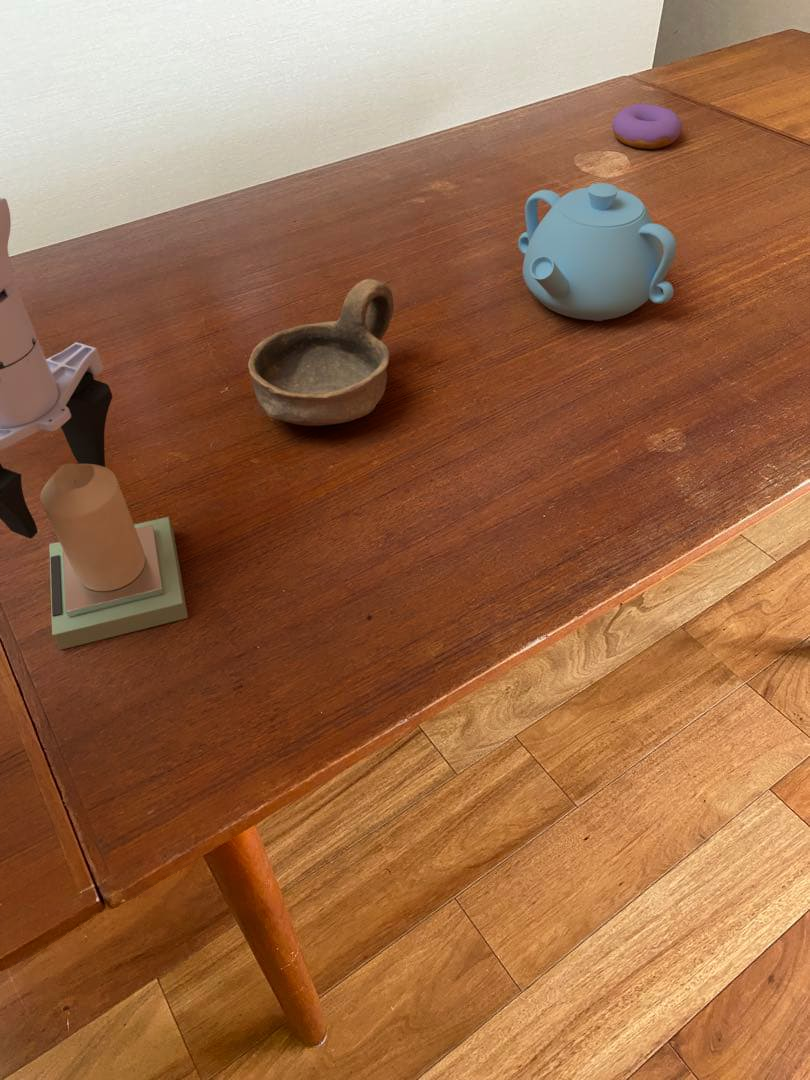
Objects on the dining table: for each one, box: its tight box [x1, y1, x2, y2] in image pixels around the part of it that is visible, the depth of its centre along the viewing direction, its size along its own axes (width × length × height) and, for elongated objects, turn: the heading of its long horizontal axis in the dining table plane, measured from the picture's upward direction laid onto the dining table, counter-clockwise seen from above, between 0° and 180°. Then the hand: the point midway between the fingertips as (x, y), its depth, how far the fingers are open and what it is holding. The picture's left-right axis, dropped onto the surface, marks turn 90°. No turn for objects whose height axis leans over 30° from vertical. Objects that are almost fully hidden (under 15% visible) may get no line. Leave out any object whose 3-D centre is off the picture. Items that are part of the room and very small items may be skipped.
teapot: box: [517, 182, 677, 322], centre depth 94 cm, size 20×20×13 cm
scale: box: [48, 516, 189, 651], centre depth 71 cm, size 10×10×2 cm
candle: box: [39, 462, 145, 591], centre depth 66 cm, size 6×6×10 cm
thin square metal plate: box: [63, 525, 164, 617], centre depth 70 cm, size 7×7×1 cm
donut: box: [611, 103, 682, 150], centre depth 126 cm, size 10×9×5 cm
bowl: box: [247, 278, 395, 427], centre depth 84 cm, size 14×18×10 cm
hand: (59, 498), depth 66 cm, fingers open, 7 cm apart
